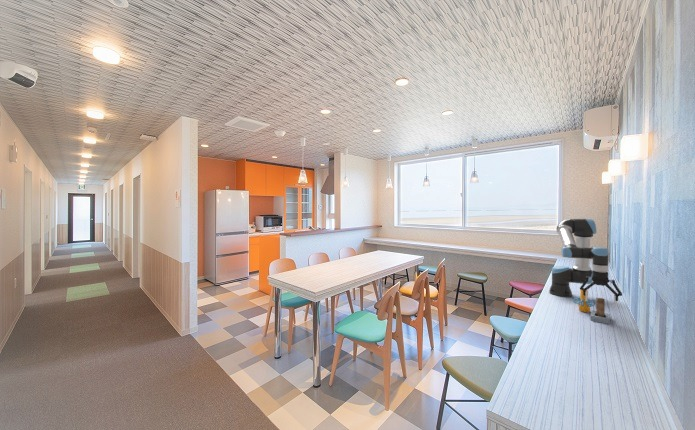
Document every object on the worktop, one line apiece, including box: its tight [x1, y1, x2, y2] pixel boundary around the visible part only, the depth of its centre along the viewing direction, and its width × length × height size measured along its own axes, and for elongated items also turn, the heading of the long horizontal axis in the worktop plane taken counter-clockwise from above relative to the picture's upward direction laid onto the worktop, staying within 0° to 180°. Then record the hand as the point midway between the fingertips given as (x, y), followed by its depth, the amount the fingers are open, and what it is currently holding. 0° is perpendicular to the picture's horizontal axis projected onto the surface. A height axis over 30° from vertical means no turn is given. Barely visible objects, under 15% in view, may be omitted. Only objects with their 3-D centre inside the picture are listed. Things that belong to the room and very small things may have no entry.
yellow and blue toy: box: [572, 289, 596, 313], centre depth 194 cm, size 12×10×15 cm
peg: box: [595, 297, 606, 317], centre depth 178 cm, size 4×4×14 cm
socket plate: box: [590, 310, 611, 325], centre depth 179 cm, size 12×9×3 cm
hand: (600, 303), depth 179 cm, fingers open, 13 cm apart
